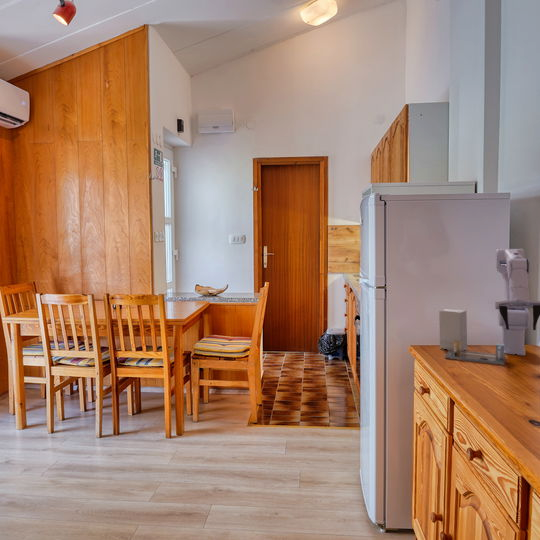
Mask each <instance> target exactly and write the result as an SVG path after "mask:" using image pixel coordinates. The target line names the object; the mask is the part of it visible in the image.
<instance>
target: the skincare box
mask: <svg viewBox="0 0 540 540" xmlns="http://www.w3.org/2000/svg"><path fill="white" fill-rule="evenodd" d="M438 313H439V316H438V317H439V349H440V348H443V349H442V350H444V349H447V350H446V351H449V350H450V349H453V341H454V340H457V341H462V346H461V350H465V351H468V350H467V349H468V331H467V330H468V329H467V327H468V326H467V325H468V324H467V321H468V320H467V319H468V318H467V310H464V309H451V308H445V309H442V310H439V311H438Z"/></svg>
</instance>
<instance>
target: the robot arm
mask: <svg viewBox="0 0 540 540" xmlns="http://www.w3.org/2000/svg"><path fill="white" fill-rule="evenodd" d="M496 252H497V253H496ZM525 257H526V255H525V250H524V248H497V249H496V250H495V266H496V267H495V268H496V271H497V272H498V273H500V274H501V275H502V279H503V285H504V296H505V297H504V298H505V300H503V301H495V310H498V313H497V315H498V317H497V320H498V321H497V322H498V325H499V326H500V327H501V328H502V331H501V344H504V354H505V355H507V354H509V355H515V354H517V355H516V356H526V348H525V337H526V330H527V328H529V327H530V325H531V312H530V311H529V309H532V320H533V321H532V331H536V330H537V324H538V321H539V317H540V300H531V299H530V287H529V285H530V284H529V273H530V270H531V269H530V268H531V267H530V259H529V258H527V257H526V258H525ZM501 264H507V266H505V265H501Z"/></svg>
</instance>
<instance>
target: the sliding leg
mask: <svg viewBox="0 0 540 540" xmlns="http://www.w3.org/2000/svg"><path fill="white" fill-rule="evenodd" d="M495 354H496V357H498V359H500V357H502V358H504V355H505V353H504V344H502V343H498V342H497V343H495Z"/></svg>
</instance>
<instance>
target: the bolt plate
mask: <svg viewBox="0 0 540 540" xmlns="http://www.w3.org/2000/svg"><path fill="white" fill-rule="evenodd" d="M461 346H462V341H457V340H454V341H453V349H450V350H447V352H446V354H445V356H444V358H450V359H449V360H454V359H459V360H458V361H462V360H464V361H463V362H470V361H471V363H479V362H481V363H480V364H487V363H491V364H490V365H496V364H500V365H499V366H505V365H504V364H505V360H506V354H504V358H502V357H500V359H498V357H496V353H489V352H480V351H474V350H473V351H472V350H465V351H464V350H461Z"/></svg>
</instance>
